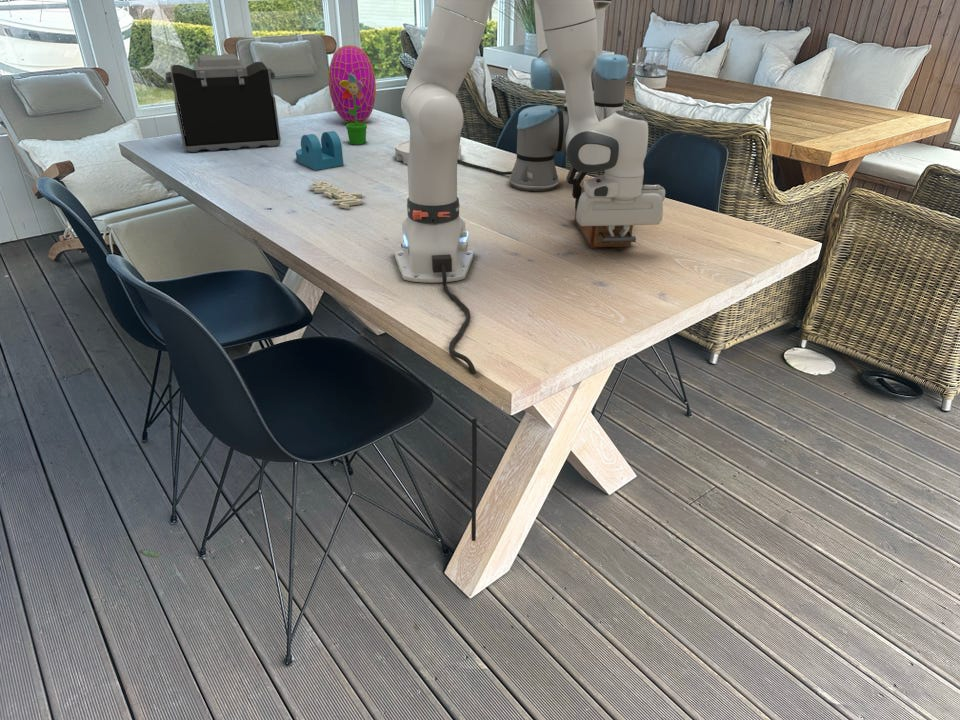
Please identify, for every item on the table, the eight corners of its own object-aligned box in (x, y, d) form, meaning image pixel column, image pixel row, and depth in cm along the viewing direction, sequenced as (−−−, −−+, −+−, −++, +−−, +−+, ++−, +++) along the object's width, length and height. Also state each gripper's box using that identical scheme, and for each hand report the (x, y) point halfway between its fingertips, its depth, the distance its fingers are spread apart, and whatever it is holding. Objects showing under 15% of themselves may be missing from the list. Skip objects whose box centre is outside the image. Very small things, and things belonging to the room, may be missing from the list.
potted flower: (342, 144, 260) (336, 73, 247) (351, 139, 266) (346, 70, 254) (365, 146, 257) (360, 74, 245) (374, 141, 264) (369, 71, 251)
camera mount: (343, 165, 234) (340, 133, 228) (315, 170, 228) (311, 137, 223) (318, 154, 246) (315, 124, 240) (291, 159, 240) (287, 128, 235)
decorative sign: (374, 199, 198) (343, 206, 193) (375, 203, 198) (344, 209, 193) (332, 179, 216) (303, 184, 211) (332, 182, 216) (303, 187, 211)
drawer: (636, 253, 165) (640, 223, 161) (599, 254, 164) (602, 223, 160) (611, 221, 185) (615, 193, 181) (578, 221, 184) (581, 194, 180)
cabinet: (630, 246, 171) (634, 209, 166) (589, 247, 170) (593, 210, 166) (610, 220, 188) (614, 186, 183) (573, 221, 187) (576, 186, 182)
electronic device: (278, 133, 274) (267, 51, 259) (285, 146, 256) (274, 59, 241) (180, 140, 262) (162, 54, 247) (180, 153, 244) (161, 62, 229)
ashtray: (454, 167, 232) (454, 155, 230) (388, 164, 235) (387, 152, 233) (466, 151, 252) (466, 140, 250) (404, 148, 255) (404, 137, 253)
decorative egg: (362, 116, 305) (357, 42, 290) (386, 123, 292) (382, 46, 277) (324, 121, 294) (316, 45, 279) (347, 129, 281) (340, 49, 266)
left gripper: (662, 180, 162) (654, 236, 169) (577, 182, 160) (572, 238, 167) (671, 188, 157) (662, 245, 164) (583, 189, 155) (577, 247, 162)
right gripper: (646, 119, 175) (635, 204, 186) (558, 119, 173) (552, 205, 184) (655, 125, 168) (643, 213, 179) (563, 126, 166) (557, 214, 178)
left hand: (616, 242), depth 165 cm, fingers closed
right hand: (597, 209), depth 182 cm, fingers closed on cabinet, 10 cm apart
